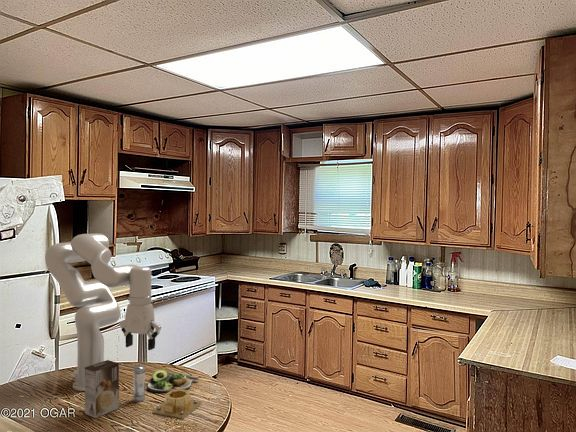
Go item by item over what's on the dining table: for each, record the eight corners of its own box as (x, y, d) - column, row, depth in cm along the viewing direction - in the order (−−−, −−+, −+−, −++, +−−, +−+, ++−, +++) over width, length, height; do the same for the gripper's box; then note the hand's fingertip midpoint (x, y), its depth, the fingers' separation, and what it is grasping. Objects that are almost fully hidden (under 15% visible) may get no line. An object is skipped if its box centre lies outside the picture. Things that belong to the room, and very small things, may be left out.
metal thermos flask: (130, 401, 158) (131, 368, 158) (137, 396, 162) (138, 364, 161) (140, 402, 156) (140, 369, 156) (147, 398, 160) (147, 365, 160)
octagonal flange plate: (152, 413, 149) (152, 398, 149) (172, 398, 160) (172, 385, 160) (182, 419, 145) (183, 404, 145) (201, 404, 156) (201, 390, 156)
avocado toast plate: (200, 375, 184) (200, 364, 184) (197, 393, 166) (197, 381, 166) (152, 376, 182) (153, 365, 182) (144, 395, 164) (144, 382, 164)
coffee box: (107, 403, 155) (108, 359, 155) (119, 408, 152) (119, 362, 152) (83, 413, 147) (84, 366, 147) (95, 419, 144) (96, 370, 144)
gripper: (113, 301, 158) (113, 348, 158) (154, 304, 152) (153, 353, 152) (127, 297, 165) (127, 342, 165) (166, 300, 159) (166, 347, 159)
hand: (140, 347), depth 159 cm, fingers open, 9 cm apart
